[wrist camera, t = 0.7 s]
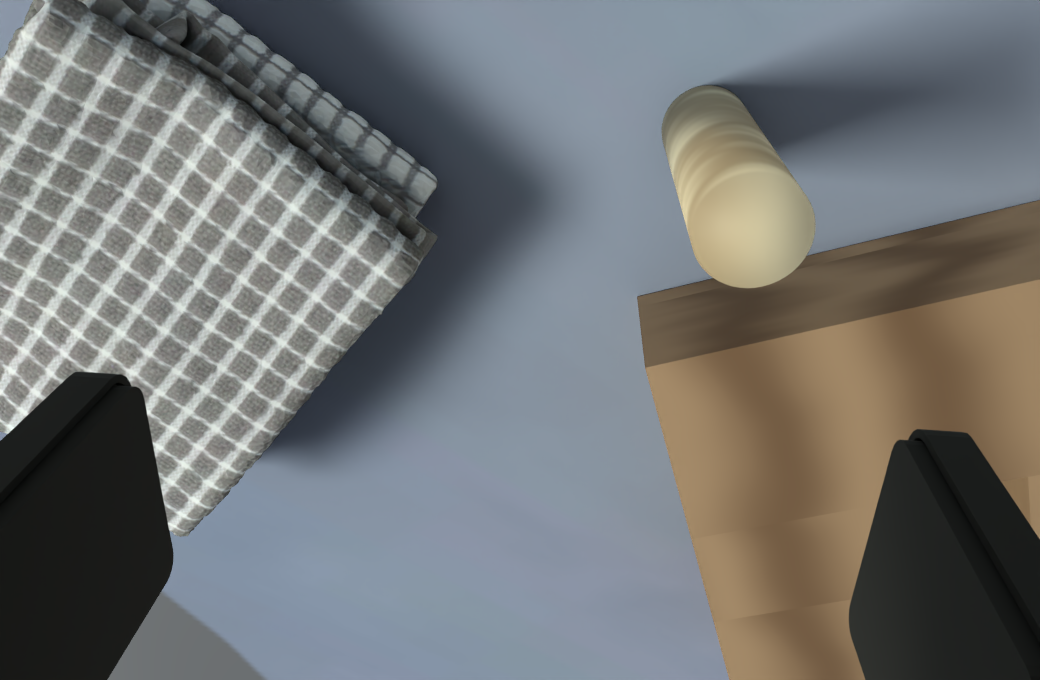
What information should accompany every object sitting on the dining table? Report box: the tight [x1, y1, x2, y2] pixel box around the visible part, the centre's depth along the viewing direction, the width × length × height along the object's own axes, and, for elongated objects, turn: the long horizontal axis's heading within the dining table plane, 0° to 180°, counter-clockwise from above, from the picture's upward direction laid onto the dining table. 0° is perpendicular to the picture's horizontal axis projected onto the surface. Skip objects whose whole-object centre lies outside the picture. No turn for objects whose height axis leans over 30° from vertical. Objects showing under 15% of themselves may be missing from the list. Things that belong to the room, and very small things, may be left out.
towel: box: [0, 0, 438, 537], centre depth 33 cm, size 15×18×8 cm
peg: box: [662, 85, 815, 288], centre depth 28 cm, size 3×3×11 cm
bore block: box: [637, 200, 1040, 680], centre depth 36 cm, size 20×20×6 cm
